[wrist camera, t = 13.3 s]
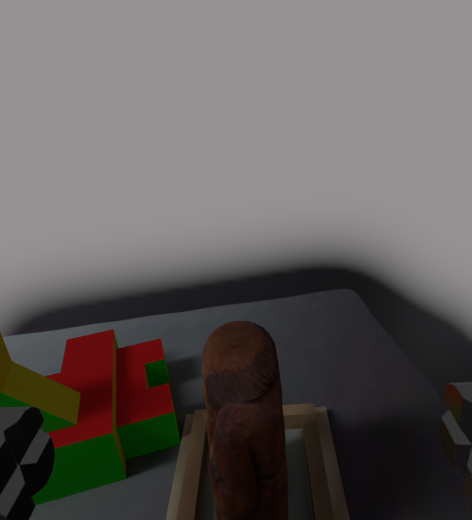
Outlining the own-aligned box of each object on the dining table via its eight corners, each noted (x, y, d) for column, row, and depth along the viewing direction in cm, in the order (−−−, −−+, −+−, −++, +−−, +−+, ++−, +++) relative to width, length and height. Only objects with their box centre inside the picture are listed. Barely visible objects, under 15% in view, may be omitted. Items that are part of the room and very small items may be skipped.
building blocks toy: (184, 463, 44) (151, 313, 36) (-81, 541, 39) (-182, 388, 31) (165, 357, 61) (139, 241, 53) (-22, 403, 56) (-79, 282, 48)
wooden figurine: (221, 451, 43) (196, 299, 36) (283, 447, 43) (271, 293, 35) (215, 578, 32) (177, 399, 25) (298, 574, 32) (285, 391, 25)
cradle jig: (142, 661, 29) (133, 640, 28) (187, 418, 49) (183, 400, 48) (378, 660, 28) (379, 637, 27) (325, 411, 48) (325, 392, 47)
